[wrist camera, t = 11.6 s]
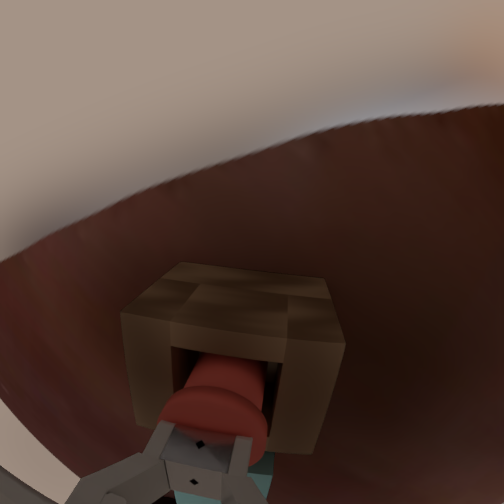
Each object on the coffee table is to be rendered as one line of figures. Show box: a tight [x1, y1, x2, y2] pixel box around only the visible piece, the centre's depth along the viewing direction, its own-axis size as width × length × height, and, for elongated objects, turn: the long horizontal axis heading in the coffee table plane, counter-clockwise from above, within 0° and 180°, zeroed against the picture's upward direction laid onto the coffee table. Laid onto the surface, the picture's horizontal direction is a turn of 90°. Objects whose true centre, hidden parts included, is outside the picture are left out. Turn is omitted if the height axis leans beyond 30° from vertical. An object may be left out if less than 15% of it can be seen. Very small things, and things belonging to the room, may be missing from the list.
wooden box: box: [120, 262, 346, 455], centre depth 14 cm, size 8×6×7 cm
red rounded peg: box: [157, 352, 268, 466], centre depth 11 cm, size 4×4×6 cm
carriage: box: [174, 451, 275, 504], centre depth 15 cm, size 5×6×6 cm
